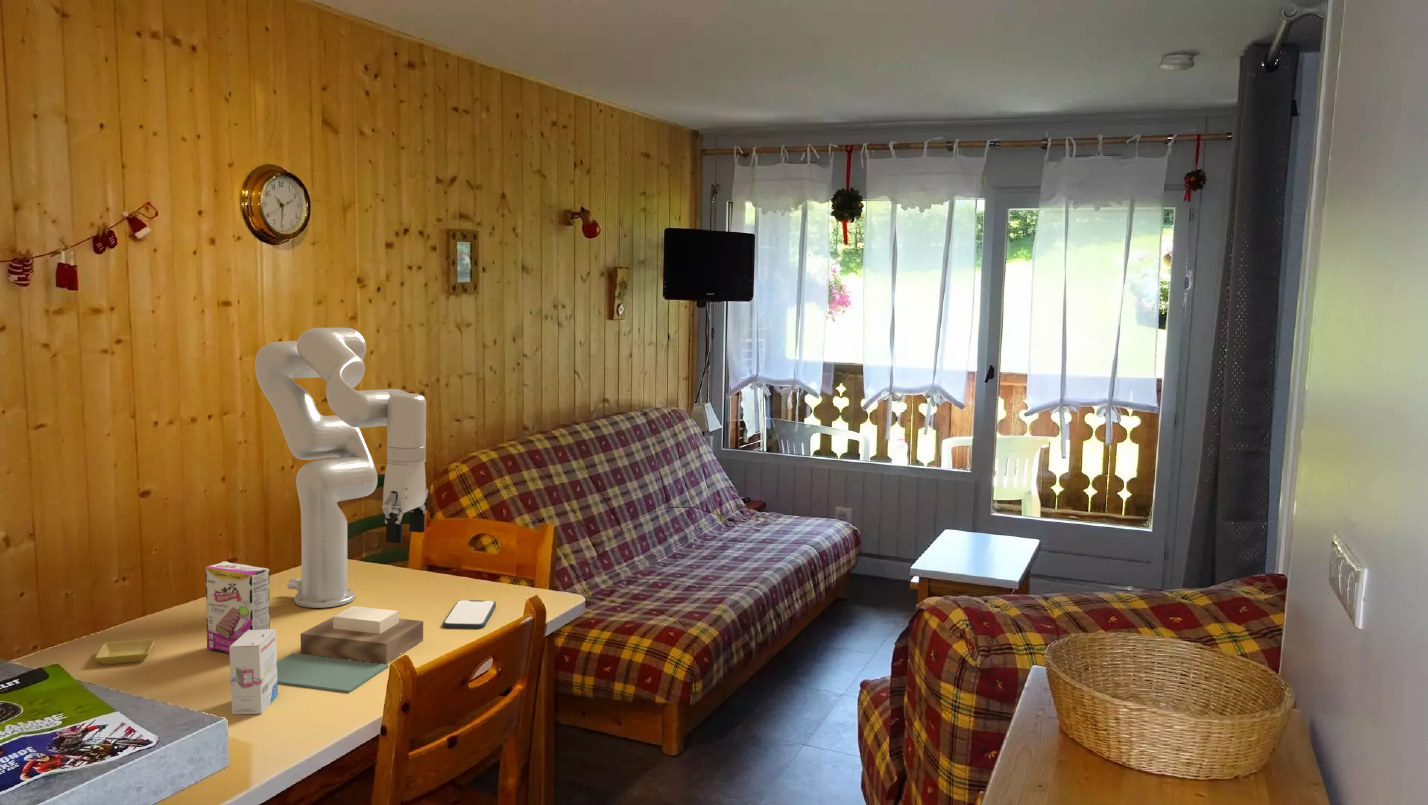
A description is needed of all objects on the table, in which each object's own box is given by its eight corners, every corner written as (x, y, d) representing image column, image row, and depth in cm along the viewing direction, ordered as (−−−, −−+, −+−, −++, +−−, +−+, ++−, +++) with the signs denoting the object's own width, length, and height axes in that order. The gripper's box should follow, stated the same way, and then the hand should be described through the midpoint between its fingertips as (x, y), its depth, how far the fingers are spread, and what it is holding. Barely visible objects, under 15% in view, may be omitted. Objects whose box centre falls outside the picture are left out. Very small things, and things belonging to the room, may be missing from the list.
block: (300, 653, 196) (300, 633, 196) (342, 631, 210) (342, 611, 210) (386, 664, 193) (386, 643, 192) (423, 640, 206) (423, 621, 206)
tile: (333, 628, 199) (333, 616, 199) (353, 617, 206) (353, 606, 206) (379, 633, 197) (379, 621, 197) (398, 622, 204) (398, 611, 204)
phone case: (483, 632, 215) (497, 607, 230) (484, 624, 214) (497, 600, 230) (441, 631, 214) (457, 606, 230) (441, 623, 214) (457, 599, 230)
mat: (248, 679, 183) (248, 677, 183) (292, 655, 196) (292, 653, 196) (349, 692, 179) (349, 690, 179) (388, 666, 191) (388, 664, 191)
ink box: (248, 694, 177) (247, 627, 175) (278, 694, 177) (278, 627, 176) (229, 715, 168) (228, 644, 167) (261, 714, 169) (260, 644, 167)
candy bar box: (205, 650, 196) (203, 566, 195) (225, 642, 201) (224, 560, 199) (252, 659, 193) (251, 573, 191) (271, 650, 197) (270, 567, 196)
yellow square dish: (104, 653, 194) (104, 642, 194) (155, 649, 197) (155, 638, 197) (94, 669, 186) (94, 657, 186) (148, 664, 189) (148, 653, 189)
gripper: (409, 447, 218) (408, 526, 220) (367, 459, 201) (367, 545, 203) (442, 449, 216) (441, 529, 218) (403, 462, 199) (402, 549, 201)
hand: (405, 537), depth 210 cm, fingers open, 9 cm apart
